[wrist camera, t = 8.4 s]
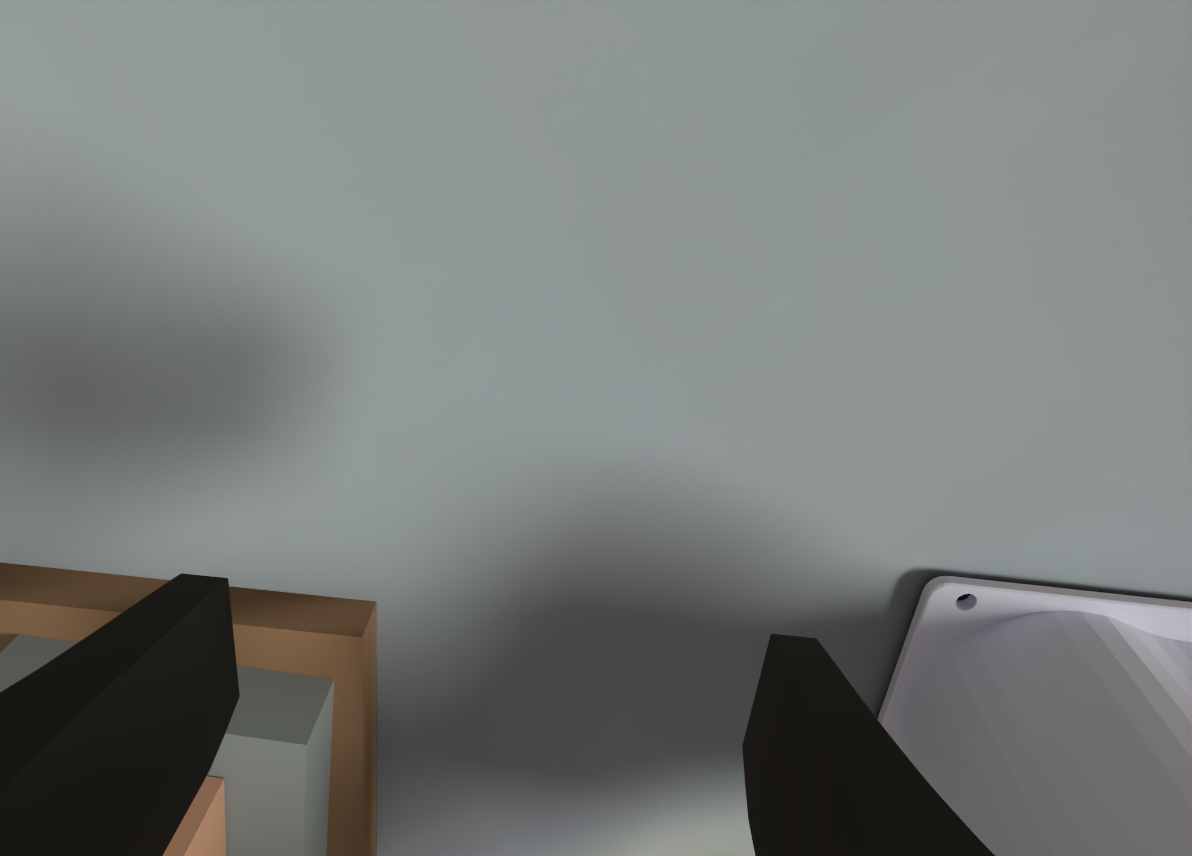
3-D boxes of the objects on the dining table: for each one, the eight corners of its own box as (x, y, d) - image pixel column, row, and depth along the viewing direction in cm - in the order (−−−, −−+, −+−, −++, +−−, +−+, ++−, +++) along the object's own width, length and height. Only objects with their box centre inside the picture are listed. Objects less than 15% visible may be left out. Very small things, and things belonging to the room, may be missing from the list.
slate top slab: (334, 679, 22) (306, 745, 20) (325, 880, 26) (301, 952, 24) (19, 634, 22) (-41, 696, 20) (53, 844, 25) (5, 915, 23)
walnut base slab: (383, 584, 24) (361, 637, 22) (382, 832, 28) (364, 895, 26) (14, 545, 23) (-42, 595, 21) (73, 802, 28) (30, 863, 26)
